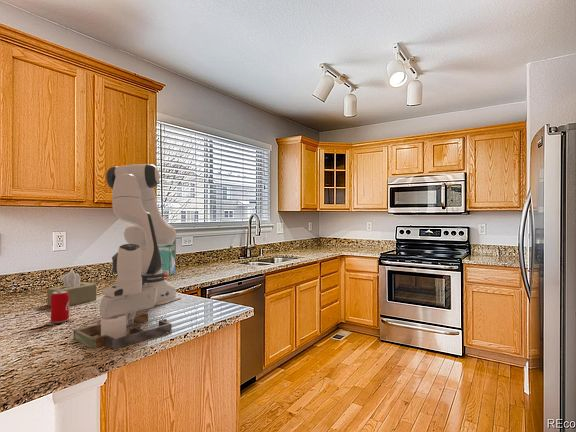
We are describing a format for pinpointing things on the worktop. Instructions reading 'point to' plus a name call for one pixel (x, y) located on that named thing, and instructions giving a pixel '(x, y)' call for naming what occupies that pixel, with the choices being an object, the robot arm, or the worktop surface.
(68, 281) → the tissue box
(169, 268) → the milk carton
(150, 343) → the worktop surface
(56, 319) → the beverage can
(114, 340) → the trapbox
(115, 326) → the toilet paper
